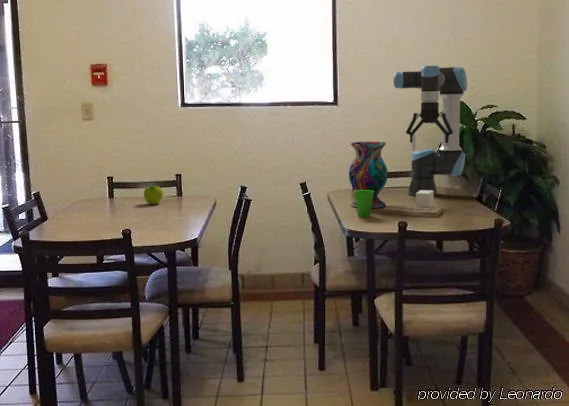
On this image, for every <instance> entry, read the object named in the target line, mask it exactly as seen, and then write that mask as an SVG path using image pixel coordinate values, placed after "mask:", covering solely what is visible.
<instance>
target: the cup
mask: <svg viewBox="0 0 569 406" xmlns="http://www.w3.org/2000/svg"><path fill="white" fill-rule="evenodd" d="M353 193H354V198H355V199H354V200H355V201H356V205H357V207H356V211H357V216H358V217H359V218H370V217H371V212H372V208H371V207H372V200H373V194H374V191H372V190H354V191H353Z"/></svg>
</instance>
